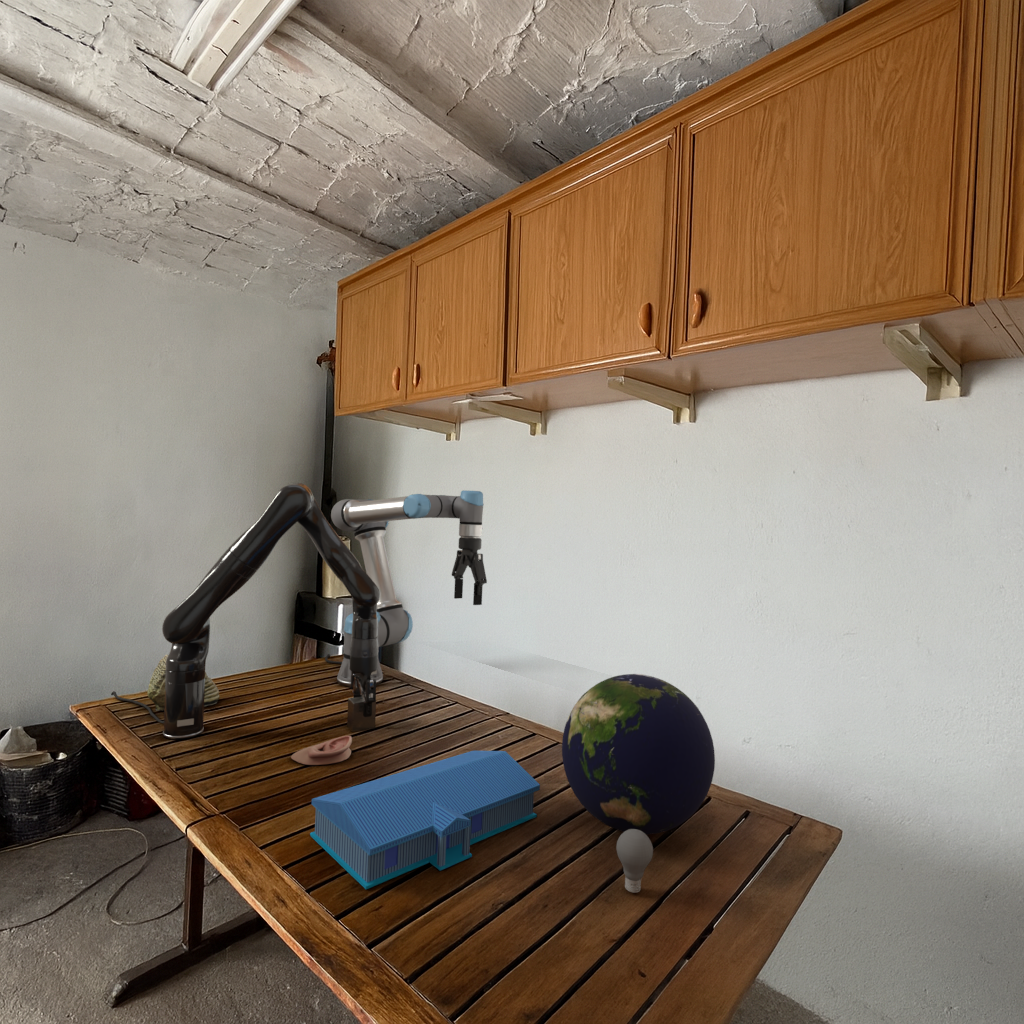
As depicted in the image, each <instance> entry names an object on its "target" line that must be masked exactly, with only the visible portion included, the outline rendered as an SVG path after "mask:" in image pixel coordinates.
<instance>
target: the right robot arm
mask: <svg viewBox="0 0 1024 1024" xmlns="http://www.w3.org/2000/svg"><path fill="white" fill-rule="evenodd" d="M330 512H331V513H330V519H331V521H332V523H333V524H334V526H335V527H336V528H337V529H339V530H341V531H343V532H353V536H354V539H355V540H356V541H358V542H359V543H360V549H361V553H362V558H363V563H364V567H365V572H366V573H367V575H368V576H369V577H370V578H371V579H372V580H373V582H374V583H375V584H376V585H377V586H378V588H379V590H380V599H379V602H378V603H377V619H378V653H379V649H380V648H381V647H387V646H391V645H397V644H400V643H401V642H404V641H406V640H408V639H409V637H410V634H411V633H412V631H413V625H414V623H413V618H412V617H413V616H412V615H411V614H410V613H409V612H408V610H406V609H404V607H403V603H402V602H400V601H399V600H398V599H397V594H396V589H395V585H394V580H393V577H392V572H391V567H390V566H391V565H390V563H389V558H388V552H387V548H386V543H385V535H386V533H387V527H388V526H389V524H390V523H389V522H392V521H403V520H415V519H416V520H417V519H427V518H428V519H430V518H432V519H459V525H458V536H459V538H458V550H456V556H455V561H454V564H453V568H452V571H451V577H453V579H454V592H453V593H454V595H453V598H454V599H463V594H464V593H463V591H464V589H463V588H464V574H465V572H466V570H467V568H470V571H471V573H472V577H473V580H474V583H473V601H472V605H473V606H482V605H483V585H485V584H488V583H487V582H488V580H487V575H486V570H485V565H484V564H485V563H484V554H483V553H478V551H479V550H481V549H482V538H481V537H483V536H482V534H483V530H484V529H483V515H484V493H483V492H482V491H481V490H465V489H464V490H461V491H460V495H446V494H439V495H438V494H424V493H423V494H422V493H414V494H410V495H405V496H399V497H390V498H381V499H371V498H370V499H369V498H368V499H359V498H357V499H356V498H355V499H353V498H346V499H341V500H339V501H337V502H336V503H335V504H334V505H333V507H332V509H331V511H330ZM352 622H353V612H351V613H349V615H347V616H346V618H345V620H344V627H343V633H344V634H343V659H342V661H339V660H338V661H337V660H330V658H331V654H330V653H328V654H326V656H325V657H324V660H325V662H326V663H328V664H335V665H340V668H339V671H338V673H337V677H336V682H337V683H338V684H339V686H343V687H349V688H350V687H351V670H350V645H351V639H352ZM371 677H372V680H374V679H375V680H376V686H377V685H380V684H381V683H383V681H384V674H383V670H382V667H381V663H380V659H378V668H377V670H376V671H374V672H372V673H371Z"/></svg>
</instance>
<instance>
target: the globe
mask: <svg viewBox="0 0 1024 1024" xmlns="http://www.w3.org/2000/svg"><path fill="white" fill-rule="evenodd" d="M715 754H716V753H715V746H714V740H713V737H712V733H711V730H710V727H709V726H708V723H707V721H706V719H705V717H704V715H703V714H702V712H701V710H700V709H699V707H698V706H697V705H696V703H694V701H693V700H692V699H691V698H690V697H689V696H688V695H687V694H686V693H685V692H683V691H682V690H681V689H679V688H678V687H676V686H675V685H674V684H672V683H670V682H668V681H666V680H664V679H661V678H658V677H656V676H652V675H647V674H643V673H627V674H619V675H615V676H611V677H608V678H606V679H604V680H602V681H600V682H597V683H596V684H595V685H593V686H592V687H590V688H589V689H588V690H587V691H585V692H584V693H583V694H582V695H581V696H580V697H579V699H578V700H577V701H576V703H575V704H574V705H573V707H572V709H571V710H570V713H569V715H568V717H567V720H566V722H565V725H564V729H563V733H562V742H561V758H562V764H563V769H564V773H565V776H566V779H567V782H568V784H569V787H570V788H571V790H572V792H573V794H574V795H575V797H576V799H577V800H578V801H579V802H580V804H581V805H582V806H583V808H584V809H585V810H586V811H587V812H589V813H590V815H592V816H593V817H594V818H596V820H598V821H600V822H601V823H602V824H604V825H605V826H607V827H609V828H612V829H614V830H616V831H619V832H622V833H623V832H625V831H627V830H629V829H637V830H640V831H642V832H644V833H645V834H646V835H647V836H649V835H657V834H661V833H664V832H668V831H671V830H673V829H675V828H677V827H678V826H680V825H682V824H684V823H685V822H686V821H688V820H689V819H690V818H691V817H692V816H693V815H694V814H695V813H696V812H697V811H698V810H699V808H700V807H701V806H702V804H703V803H704V801H705V800H706V797H707V796H708V794H709V791H710V789H711V785H712V783H713V779H714V773H715V767H716V755H715Z"/></svg>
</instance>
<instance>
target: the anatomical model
mask: <svg viewBox="0 0 1024 1024" xmlns="http://www.w3.org/2000/svg"><path fill="white" fill-rule="evenodd" d="M352 743H353V737H352V735H343V736H339V737H335V738H332V739H329V740H326V741H323V742H321V743H318V744H315V745H311V746H308V747H304V748H302V749H300V750H298V751H295V752H294V753H293V754H292V755H291V756H290V758H291V760H293V761H294V762H297V763H299V764H302V765H306V766H319V765H330V764H337V763H340V762H343V761H345V760H347V759H349V758H350V756H351V755H352V750H351V748H350V747H351V745H352Z"/></svg>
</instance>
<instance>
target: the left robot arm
mask: <svg viewBox="0 0 1024 1024" xmlns="http://www.w3.org/2000/svg"><path fill="white" fill-rule="evenodd" d="M297 523H298V524H299V525H300V527H302V529H303V530H304V531H305V532H306V533H307V535H308V537H309V538H310V539H311V541H312V542H313V544H314V546H315V548H316V549H317V551H318V553H319V554H320V556H321V558H322V559H323V561H324V562H325V564H326V565H327V566H328V568H329V569H330V570H331V571H332V573H333V574H334V575H335V577H336V578H337V579H338V580H339V581H340V582H341V583H342V584H343V586H344V587H345V589H346V591H347V592H348V593H349V595H350V596H351V601H352V603H351V604H352V605H351V606H352V613H353V622H352V639H351V645H350V670H351V687H349V688H350V690H351V692H352V694H353V695H352V698H355V697H363V702H364V703H363V716H364V717H370V716H371V715H372V702H376V703H377V685H376V680H375V679H374V680H372V677H371V673H372V672H374V671H376V670H377V668H378V660H379V652H378V619H377V603H378V602H379V599H380V590H379V588H378V586H377V585H376V584H375V583H374V582H373V580H372V579H371V578H370V577H369V576H368V575H367V573H366V570H364V568H363V566H361V563H360V561H359V560H358V559H357V558H356V556H355V554H354V553H353V552H352V551H351V550H350V548H349V547H348V545H347V544H346V543H345V542H344V541H343V539H342V538H341V537H340V535H338V534H337V532H336V530H335V529H334V528H333V526H332V525H331V524H330V523H329V521H328V520H327V518H326V516H325V515H324V513H323V512H322V510H321V508H320V507H319V504H318V502H317V501H316V498H315V497H314V495H313V492H312V489H310V487H309V486H307V485H306V484H303V483H300V482H290V483H287V484H285V485H284V486H282V487H281V488H279V490H278V491H277V492H276V493H275V496H274V497H273V499H271V502H270V503H269V505H268V506H267V507H266V508H265V510H264V511H263V512H262V514H261V515H260V517H258V519H257V520H255V522H254V523H253V524H252V525H251V526H249V527H248V528H246V530H245V531H244V532H242V533H241V534H240V536H239V537H237V539H235V540H234V541H233V542H232V543H231V545H229V547H228V548H227V549H226V550H225V551H224V552H223V553H222V555H221V556H220V557H219V558H218V559H217V560H216V562H215V563H214V564H213V565H212V566H211V568H210V569H209V571H207V573H206V574H205V576H204V577H203V578H202V579H201V581H200V582H199V583H198V585H197V586H196V587H195V588H194V589H193V591H192V592H191V593H189V594H188V595H187V596H186V597H185V599H183V600H182V601H181V602H180V603H179V604H178V605H176V607H174V608H173V609H172V610H171V611H170V612H169V613H168V614H167V615H166V616H165V618H164V620H163V622H162V627H161V629H162V635H163V637H164V639H165V640H166V642H168V643H169V644H171V647H170V651H169V653H168V654H167V655H168V657H167V659H166V674H165V705H164V710H163V720H161V719H160V718H159V717H158V716H157V715H156V714H155V713H154V712H153V711H152V709H151V707H150V706H148V705H146V704H145V703H142V702H140V701H138V700H135V699H130V698H126V697H125V698H124V697H121V696H118V693H117V692H116V691H114V690H113V691H112V692H111V693H110V696H114V698H115V699H116V700H119V701H123V702H128V703H132V704H135V705H138V706H140V707H143V708H145V709H146V710H147V711H148V713H149V715H150V716H151V717H152V718H153V719H154V720H155V721H157V722H159V723H161V724H163V731H162V737H164V738H166V739H169V740H185V739H190V738H191V739H192V738H194V737H197V736H199V735H202V734H203V732H204V730H205V729H204V722H205V721H204V718H205V706H204V693H205V672H206V664H207V663H206V662H207V658H208V655H209V651H210V650H209V649H210V637H211V636H210V635H211V619H210V618H211V616H212V615H213V614H214V613H215V612H216V611H217V609H218V608H219V607H220V606H221V605H222V604H224V603H225V602H226V601H227V600H228V599H230V597H231V596H233V595H234V594H235V593H237V592H238V591H239V590H241V588H242V587H243V586H245V584H247V583H248V582H249V580H251V579H252V577H253V576H254V575H255V574H256V573H257V572H258V571H259V570H260V568H261V567H262V566H263V565H264V563H265V562H266V561H267V559H268V558H269V556H271V553H273V550H274V549H275V548H276V546H277V544H278V543H279V541H280V540H281V538H282V537H284V535H285V534H286V533H287V532H288V531H289V530H290V529H291V528H292V527H293V526H295V524H297ZM369 696H370V698H369Z"/></svg>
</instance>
